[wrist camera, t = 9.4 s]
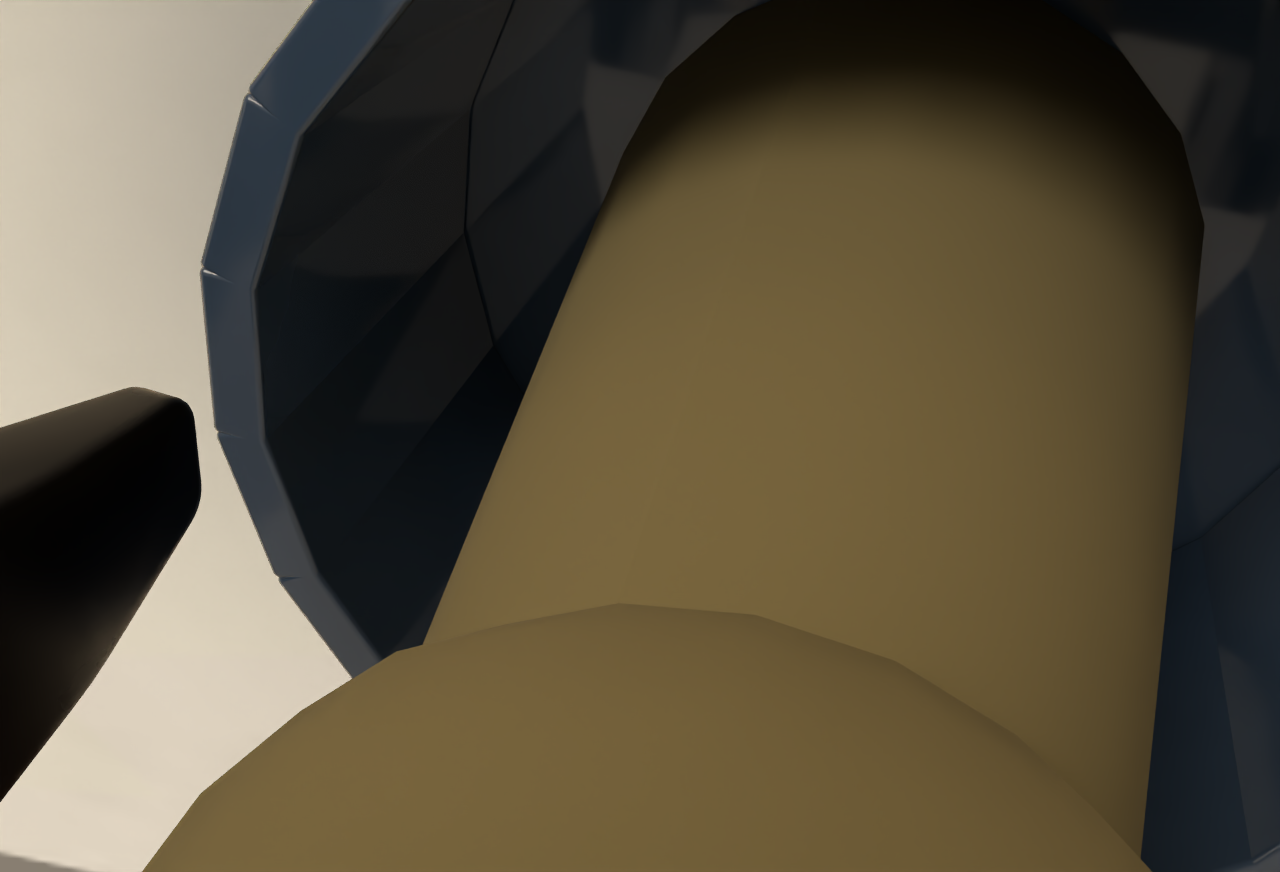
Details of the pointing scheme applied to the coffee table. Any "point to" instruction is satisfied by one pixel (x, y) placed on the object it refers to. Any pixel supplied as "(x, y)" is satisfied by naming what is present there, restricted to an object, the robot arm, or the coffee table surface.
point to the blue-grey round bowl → (542, 271)
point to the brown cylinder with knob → (805, 492)
